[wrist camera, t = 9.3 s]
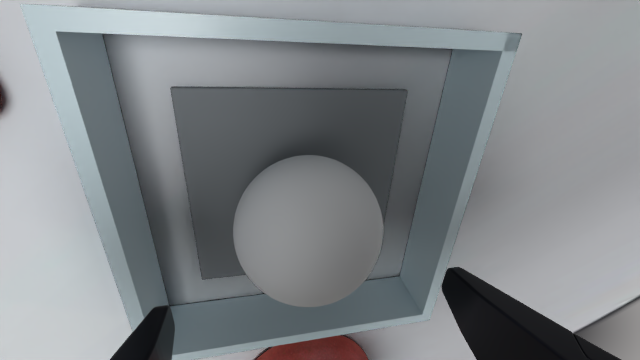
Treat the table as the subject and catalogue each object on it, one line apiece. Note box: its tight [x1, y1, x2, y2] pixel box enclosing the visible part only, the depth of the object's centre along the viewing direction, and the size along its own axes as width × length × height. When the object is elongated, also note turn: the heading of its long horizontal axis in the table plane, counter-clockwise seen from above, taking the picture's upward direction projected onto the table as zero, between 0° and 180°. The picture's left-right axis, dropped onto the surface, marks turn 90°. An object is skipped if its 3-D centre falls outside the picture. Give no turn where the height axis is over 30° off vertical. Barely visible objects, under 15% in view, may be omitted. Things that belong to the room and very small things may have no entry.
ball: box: [233, 155, 383, 307], centre depth 13 cm, size 6×6×6 cm
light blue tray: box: [20, 4, 522, 360], centre depth 14 cm, size 15×15×3 cm
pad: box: [170, 87, 408, 280], centre depth 15 cm, size 10×10×1 cm
